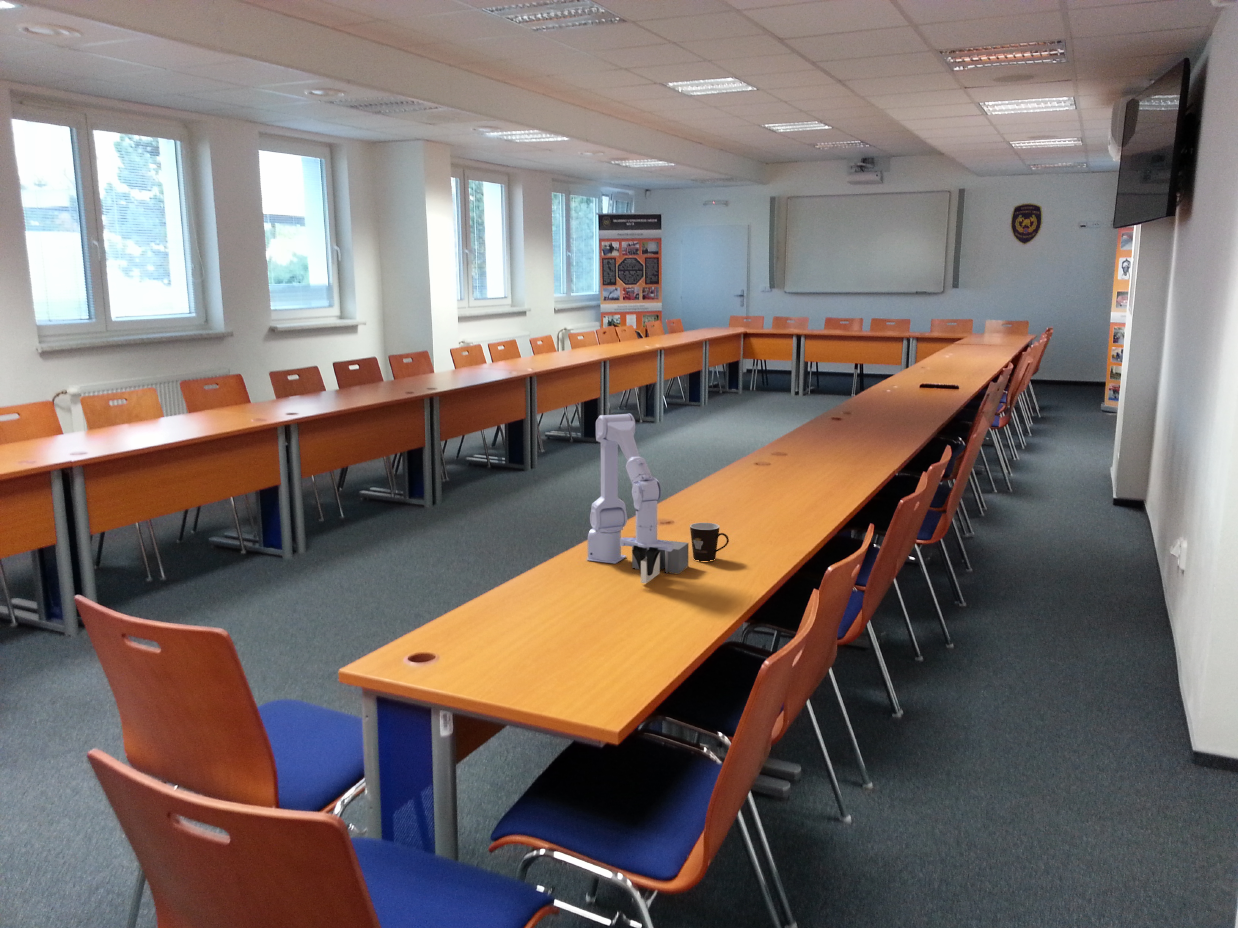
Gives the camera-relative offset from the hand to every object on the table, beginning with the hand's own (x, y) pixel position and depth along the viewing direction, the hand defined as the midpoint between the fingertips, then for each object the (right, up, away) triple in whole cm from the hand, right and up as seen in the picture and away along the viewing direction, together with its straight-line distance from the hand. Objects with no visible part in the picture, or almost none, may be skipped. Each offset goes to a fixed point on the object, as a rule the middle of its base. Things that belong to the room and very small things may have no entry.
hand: (646, 574), depth 249 cm
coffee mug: (+18, +1, +22) cm, 29 cm away
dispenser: (+4, 0, +15) cm, 16 cm away
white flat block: (+1, -1, +3) cm, 3 cm away
